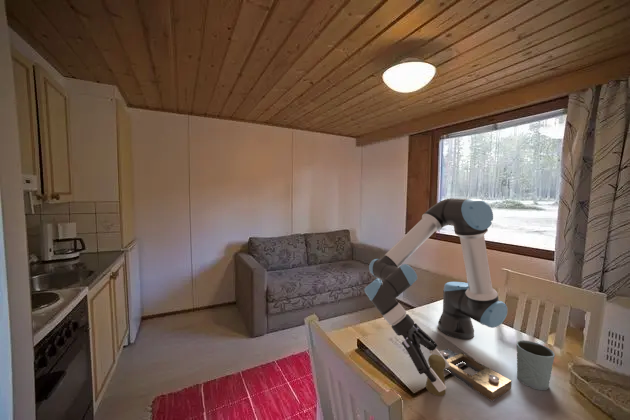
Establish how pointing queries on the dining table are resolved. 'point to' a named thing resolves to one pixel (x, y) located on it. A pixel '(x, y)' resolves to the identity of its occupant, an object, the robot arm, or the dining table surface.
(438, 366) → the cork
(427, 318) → the dining table surface
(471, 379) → the slotted wooden plate
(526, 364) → the grey green cup
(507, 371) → the dining table surface
